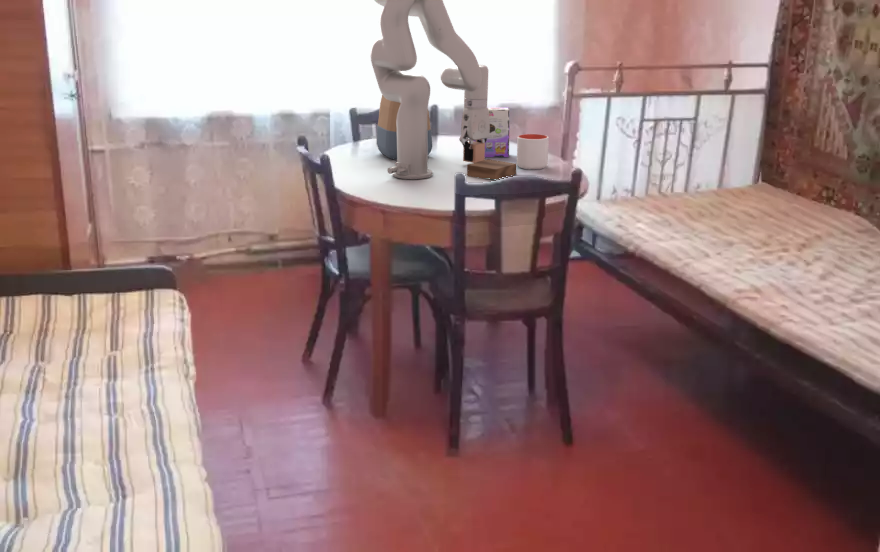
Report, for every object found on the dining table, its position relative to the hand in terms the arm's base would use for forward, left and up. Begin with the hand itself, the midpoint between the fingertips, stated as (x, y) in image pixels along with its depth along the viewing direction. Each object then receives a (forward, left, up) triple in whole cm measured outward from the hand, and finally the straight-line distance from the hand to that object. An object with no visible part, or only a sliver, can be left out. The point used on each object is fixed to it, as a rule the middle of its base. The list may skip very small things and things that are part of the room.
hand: (473, 158), depth 312 cm
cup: (+9, -17, -2) cm, 19 cm away
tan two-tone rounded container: (-3, +28, -2) cm, 28 cm away
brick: (0, 0, -1) cm, 1 cm away
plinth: (-9, -14, -2) cm, 17 cm away
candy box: (+15, +5, -2) cm, 16 cm away
